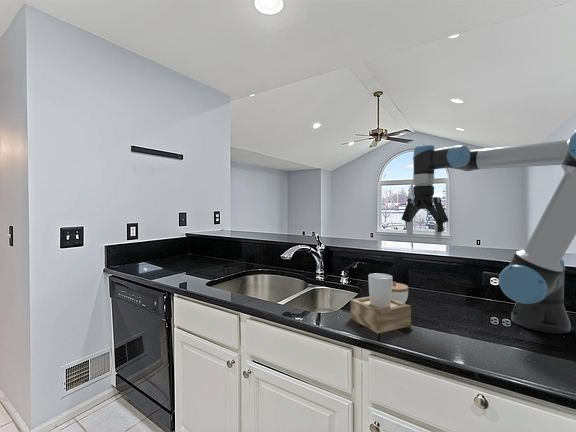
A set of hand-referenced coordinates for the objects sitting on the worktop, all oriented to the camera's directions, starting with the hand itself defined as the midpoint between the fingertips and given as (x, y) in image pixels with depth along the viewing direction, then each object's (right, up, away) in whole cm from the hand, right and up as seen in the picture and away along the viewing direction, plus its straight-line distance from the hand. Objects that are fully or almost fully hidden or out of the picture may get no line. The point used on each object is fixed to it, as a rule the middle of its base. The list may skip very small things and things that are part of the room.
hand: (423, 239), depth 118 cm
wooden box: (-22, -27, -16) cm, 38 cm away
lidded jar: (-11, -27, +3) cm, 29 cm away
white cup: (-22, -21, -16) cm, 35 cm away
